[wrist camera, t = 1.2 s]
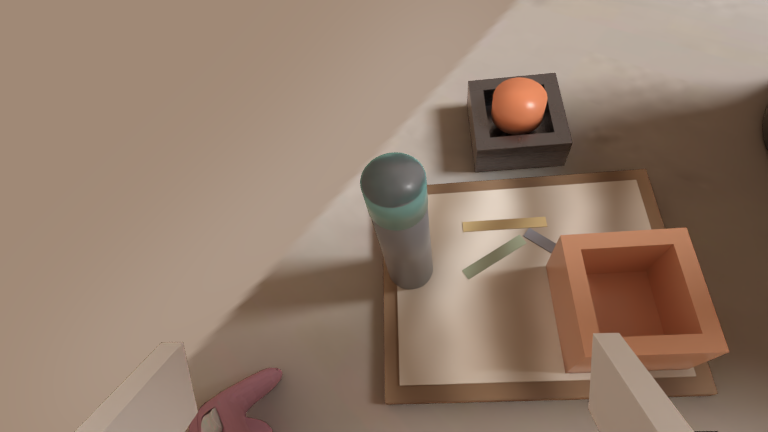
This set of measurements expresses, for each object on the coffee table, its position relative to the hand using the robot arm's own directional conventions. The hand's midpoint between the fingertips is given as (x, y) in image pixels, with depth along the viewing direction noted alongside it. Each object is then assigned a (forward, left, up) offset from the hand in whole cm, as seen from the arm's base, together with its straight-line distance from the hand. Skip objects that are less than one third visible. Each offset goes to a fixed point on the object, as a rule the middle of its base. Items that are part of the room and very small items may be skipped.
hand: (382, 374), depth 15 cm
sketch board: (-8, -9, -17) cm, 21 cm away
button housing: (-9, -22, -17) cm, 30 cm away
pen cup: (-13, -6, -16) cm, 22 cm away
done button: (-9, -22, -15) cm, 28 cm away
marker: (0, -10, -16) cm, 19 cm away
